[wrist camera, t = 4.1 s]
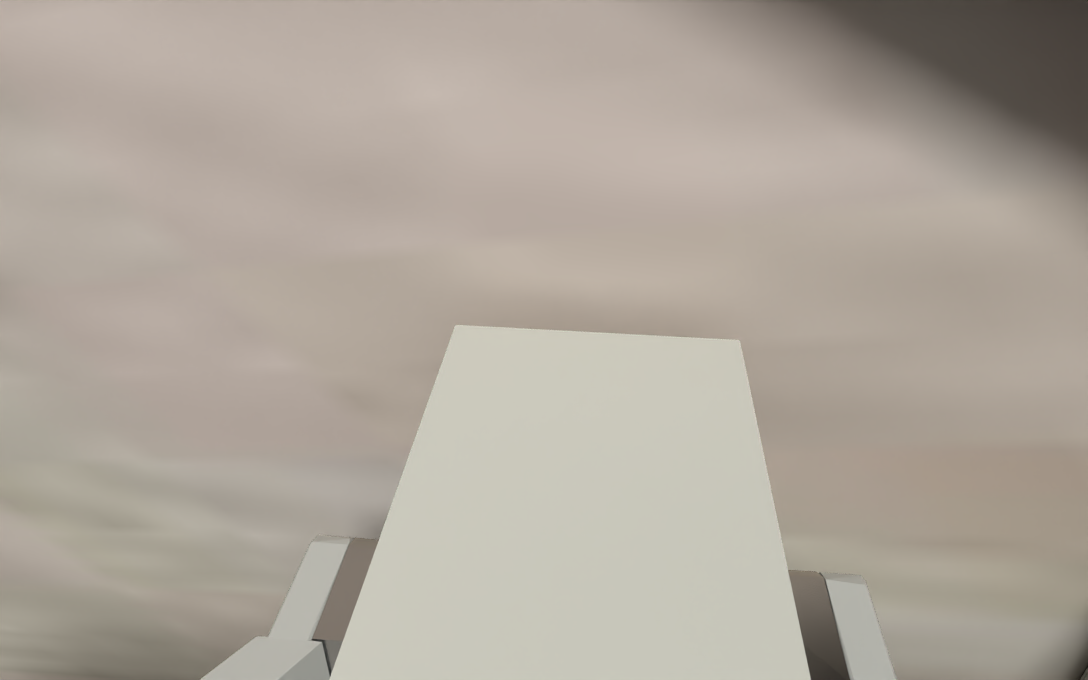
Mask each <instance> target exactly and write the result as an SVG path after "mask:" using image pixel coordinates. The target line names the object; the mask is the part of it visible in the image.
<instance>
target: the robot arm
mask: <svg viewBox="0 0 1088 680" xmlns="http://www.w3.org/2000/svg"><path fill="white" fill-rule="evenodd" d="M378 541H379V540H375V539H365V538H351V537H340V536H329V535H319V534H318V535H317V536H316V538H315V539H314V540H313V541H312V542H311V543H310V544H309V546H308V549H307V551H306V553H305V555H304V557H303V560H302V562H301V564H300V566H299V568H298V571H297V573H296V575H295V577H294V579H293V582H292V584H291V586H290V588H289V590H288V593H287V595H286V597H285V599H284V601H283V604H282V606H281V608H280V610H279V612H278V615H277V617H276V619H275V621H274V623H273V626H272V628H271V630H270V632H269V634H268V637H264V636H256V637H255V638H253V639H252V640H251V641H249V642H248V643H247V644H245V645H244V646H243V647H241V648H240V649H239V650H238V651H236V652H235V653H234V654H232V655H231V656H230V657H228V658H227V659H226V660H225V661H223V662H222V663H221V664H219V665H218V666H217V667H215V668H214V669H213V670H212V671H210V672H209V673H208V674H206V675H205V676H204V677H202V678H201V679H200V680H329V679H330V676H331V673H332V670H333V668H334V665H335V662H336V659H337V656H338V654H339V651H340V648H341V645H342V642H343V639H344V637H345V634H346V631H347V628H348V625H349V623H350V620H351V617H352V614H353V611H354V609H355V606H356V603H357V600H358V597H359V595H360V592H361V589H362V586H363V583H364V580H365V578H366V575H367V572H368V569H369V566H370V564H371V561H372V558H373V555H374V552H375V550H376V547H377V544H378ZM788 573H789V577H790V582H791V587H792V592H793V596H794V601H795V606H796V611H797V615H798V620H799V625H800V630H801V634H802V639H803V644H804V649H805V654H806V658H807V663H808V668H809V673H810V677H811V680H897V677H896V674H895V671H894V668H893V665H892V662H891V658H890V655H889V652H888V649H887V646H886V643H885V640H884V637H883V633H882V630H881V627H880V624H879V621H878V618H877V615H876V611H875V608H874V605H873V602H872V599H871V596H870V593H869V589H868V586H867V583H866V581H865V580H864V579H863V578H862V576H861V575H852V574H837V573H823V572H820V573H818V572H815V571H799V570H788Z"/></svg>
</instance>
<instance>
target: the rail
mask: <svg viewBox="0 0 1088 680" xmlns="http://www.w3.org/2000/svg"><path fill="white" fill-rule="evenodd" d="M1080 680H1088V667H1087V669H1086V671H1085V672H1084V674H1083V676H1082V677H1081V679H1080Z"/></svg>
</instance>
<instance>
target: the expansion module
mask: <svg viewBox="0 0 1088 680" xmlns="http://www.w3.org/2000/svg"><path fill="white" fill-rule="evenodd" d="M329 680H811V677H810V673H809V668H808V663H807V658H806V654H805V649H804V644H803V639H802V634H801V630H800V625H799V620H798V615H797V611H796V606H795V601H794V596H793V592H792V587H791V582H790V577H789V573H788V568H787V563H786V558H785V553H784V549H783V544H782V539H781V534H780V530H779V525H778V520H777V515H776V511H775V506H774V501H773V496H772V491H771V487H770V482H769V477H768V472H767V468H766V463H765V458H764V453H763V449H762V444H761V439H760V434H759V430H758V425H757V420H756V415H755V410H754V406H753V401H752V396H751V391H750V387H749V382H748V377H747V372H746V368H745V363H744V358H743V353H742V349H741V344H740V340H728V339H710V338H691V337H672V336H654V335H635V334H616V333H598V332H579V331H560V330H542V329H523V328H504V327H486V326H467V325H455V328H454V331H453V333H452V336H451V339H450V342H449V345H448V347H447V350H446V353H445V356H444V359H443V361H442V364H441V367H440V370H439V373H438V375H437V378H436V381H435V384H434V387H433V389H432V392H431V395H430V398H429V401H428V404H427V406H426V409H425V412H424V415H423V418H422V420H421V423H420V426H419V429H418V432H417V434H416V437H415V440H414V443H413V446H412V448H411V451H410V454H409V457H408V460H407V463H406V465H405V468H404V471H403V474H402V477H401V479H400V482H399V485H398V488H397V491H396V493H395V496H394V499H393V502H392V505H391V507H390V510H389V513H388V516H387V519H386V522H385V524H384V527H383V530H382V533H381V536H380V538H379V541H378V544H377V547H376V550H375V552H374V555H373V558H372V561H371V564H370V566H369V569H368V572H367V575H366V578H365V580H364V583H363V586H362V589H361V592H360V595H359V597H358V600H357V603H356V606H355V609H354V611H353V614H352V617H351V620H350V623H349V625H348V628H347V631H346V634H345V637H344V639H343V642H342V645H341V648H340V651H339V654H338V656H337V659H336V662H335V665H334V668H333V670H332V673H331V676H330V679H329Z"/></svg>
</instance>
